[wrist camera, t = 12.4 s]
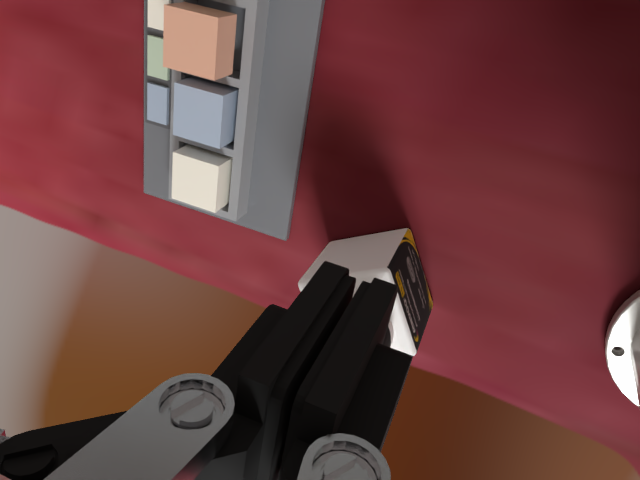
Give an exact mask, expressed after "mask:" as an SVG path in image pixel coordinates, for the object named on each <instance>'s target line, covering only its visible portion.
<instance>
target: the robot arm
mask: <svg viewBox="0 0 640 480" xmlns="http://www.w3.org/2000/svg"><path fill="white" fill-rule="evenodd" d="M355 284H356V278H354V277H351V276H349V269H348V268H346V267H343V266H340V265H337V264H334V263H331V262H328V261H324V262H323V263H322V265H321V266H320V267H319V269H318V270H317V271H316V273H315V274H314V275H313V277H312V278H311V279H310V281H309V282H308V283H307V285H306V286H305V287H304V289H303V290H302V291H301V293H300V294H299V295H298V297H297V298H296V299H295V301H294V302H293V303H292V305H291V306H290V307H289V308H288V310H287V309H285V308H282V307H279V306H277V305H274V304H272V305H269V306H268V307H267V308H266V309H265V311H264V312H263V313H262V314H261V316H260V317H259V318H258V319H257V320H256V322H255V323H254V324H253V325H252V326H251V328H250V329H249V330H248V331H247V333H246V334H245V335H244V336H243V337H242V339H241V340H240V341H239V342H238V344H237V345H236V346H235V347H234V348H233V350H232V351H231V352H230V353H229V355H228V356H227V357H226V358H225V359H224V361H223V362H222V363H221V364H220V366H219V367H218V368H217V369H216V370H215V372H214V373H213V374H212V375H211V376H209V375H205V374H199V373H190V374H182V375H178V376H175V377H172V378H170V379H168V380H167V381H165V382H163V383H162V384H160V385H159V386H158V387H156V388H155V389H154V390H153V391H152V392H150V393H149V394H148V395H147V396H146V397H144V398H143V399H142V400H141V401H139V402H138V403H137V404H136V405H134V406H133V407H132V408H131V409H129V410H128V411H125V412H120V413H115V414H110V415H105V416H100V417H95V418H90V419H85V420H80V421H75V422H70V423H66V424H60V425H56V426H51V427H46V428H41V429H36V430H31V431H28V432H24V433H21V434H18V435H15V436H13V437H6V434H5V430H3V429H0V480H391V479H390V478H391V477H390V469H389V467H388V464H387V462H386V460H385V458H384V457H383V455H382V454H381V450H382V447H383V444H384V441H385V438H386V435H387V433H388V430H389V426H390V424H391V421H392V418H393V416H394V412H395V410H396V407H397V404H398V401H399V398H400V395H401V391H402V389H403V386H404V383H405V380H406V376H407V373H408V370H409V367H410V364H411V361H412V358H413V356H412V355H409V354H406V353H404V352H401V351H398V350H396V349H393V348H390V347H388V346H385V345H383V342H384V339H385V335H386V331H387V328H388V324H389V321H390V317H391V314H392V310H393V307H394V303H395V300H396V296H397V292H398V288H399V286H398V285H395V284H392V283H390V282H387V281H384V280H381V279H378V278H374V279H373V280H372V282H371V283H369V282H366V281H362V283H361V284H360V286H359V288H358V289H357V291H356V293H355V294H354V296H353V293H354V289H355ZM352 297H353V298H352ZM605 355H606V360H607V366H608V369H609V372H610V374H611V376H612V379H613V381H614V382H615V383H616V385H617V386H618V388H619V389H620V390H621V392H622V393H623V394H624V395H625V396H626V397H627V398H628V399H629V400H631V401H632V402H633V403H634V404H635V405H637V406H638V407H639V408H640V290H638V291H637V292H636V293H634V294H633V295H632V296H631V297H630V298H628V299H627V300H626V301H625V302H624V303H623V304H622V305H621V307H620V308H619V309H618V310H617V311H616V313H615V314H614V316H613V318H612V320H611V322H610V324H609V326H608V329H607V333H606V338H605Z"/></svg>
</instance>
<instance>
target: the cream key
mask: <svg viewBox="0 0 640 480" xmlns="http://www.w3.org/2000/svg"><path fill="white" fill-rule="evenodd" d="M232 161H233V157H230V156H227V155H223V154H220V153H217V152H214V151H210V150H207V149H204V148H201V147H197V146H194V145H191V144H188V145H186V146H184V147H182V148H180V149H178V150H176V151H174V152H173V164H172V199H175V200H178V201H181V202H184V203H187V204H190V205H193V206H196V207H199V208H202V209H205V210H208V211H211V212H214V213H216V212H217V211H219V210H220V209H221V208H223V207H224V206H225V205H227V204H228V203H229V196H230V184H231V173H232Z"/></svg>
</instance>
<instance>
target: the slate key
mask: <svg viewBox="0 0 640 480" xmlns="http://www.w3.org/2000/svg"><path fill="white" fill-rule="evenodd" d="M238 92H239V89H238V88H235V87H231V86H228V85H224V84H220V83H217V82H213V81H209V80H206V79H202V78H198V77H195V76H192V77H189V78H186V79H183V80H180V81H177V82H174V112H173V135H175V136H179V137H182V138H185V139H188V140H192V141H195V142H198V143H201V144H205V145H208V146H211V147H215V148H218V149H220V148H222V147H224V146H226V145H227V144H229V143H231V142H232V141H234V138H235V127H236V115H237V104H238Z"/></svg>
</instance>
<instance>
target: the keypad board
mask: <svg viewBox="0 0 640 480" xmlns="http://www.w3.org/2000/svg"><path fill="white" fill-rule="evenodd" d="M180 2H188V3H192V4H196V5H200V6H204V7H209V8H213V9H217V10H221V11H225V12H229V13H234V14H237V22H236V34H235V47H234V59H233V72H232V74H231V75H229V76H226V77H223V78H220V79H218V80H215V81H213V80H210V79H206V78H202V77H199V76H195V75H191V74H188V73H184V72H181V71H177V70H173V69H170V68H166V67H163V30H164V4H172V3H180ZM324 4H325V0H144V193H146V194H149V195H152V196H155V197H158V198H161V199H164V200H167V201H170V202H173V203H176V204H179V205H182V206H185V207H188V208H191V209H194V210H197V211H199V212H202V213H205V214H208V215H211V216H214V217H217V218H220V219H223V220H226V221H229V222H232V223H235V224H238V225H241V226H244V227H247V228H250V229H253V230H256V231H259V232H262V233H265V234H267V235H270V236H273V237H276V238H279V239H282V240H285V241H286V240H287V239H288V238H289V233H290V226H291V220H292V213H293V207H294V200H295V194H296V187H297V181H298V174H299V167H300V161H301V154H302V148H303V141H304V135H305V128H306V122H307V115H308V108H309V102H310V95H311V89H312V82H313V76H314V69H315V63H316V56H317V49H318V43H319V36H320V30H321V23H322V17H323V10H324ZM192 76H195V77H198V78H202V79H206V80H209V81H213V82H217V83H220V84H224V85H228V86H231V87H235V88H238V89H239V92H238V104H237V115H236V127H235V138H234V141H232V142H231V143H229V144H227V145H226V146H224V147H222V148H220V149H218V148H215V147H211V146H208V145H205V144H201V143H198V142H195V141H192V140H188V139H185V138H182V137H179V136H175V135H173V112H174V82H177V81H180V80H183V79H186V78H189V77H192ZM188 144H191V145H194V146H197V147H201V148H204V149H207V150H210V151H214V152H217V153H220V154H223V155H227V156H230V157H233V161H232V173H231V184H230V196H229V203H228V204H227V205H225V206H224V207H223V208H221V209H220V210H219V211H217V212H216V213H214V212H211V211H208V210H205V209H202V208H199V207H196V206H193V205H190V204H187V203H184V202H181V201H178V200H175V199H172V164H173V152H174V151H176V150H178V149H180V148H182V147H184V146H186V145H188Z"/></svg>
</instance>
